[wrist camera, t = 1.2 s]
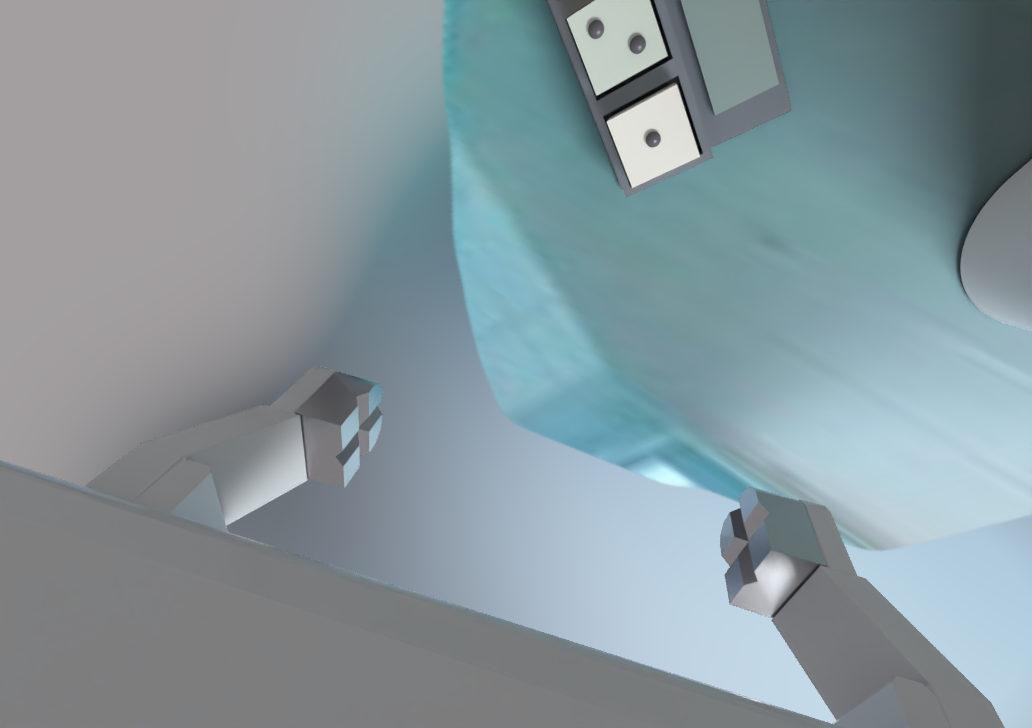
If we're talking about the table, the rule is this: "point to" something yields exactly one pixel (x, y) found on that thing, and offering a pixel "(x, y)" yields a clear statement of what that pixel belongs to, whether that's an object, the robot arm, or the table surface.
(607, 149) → the console
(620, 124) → the tile one
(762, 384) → the table surface
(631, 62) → the tile two
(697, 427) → the table surface
